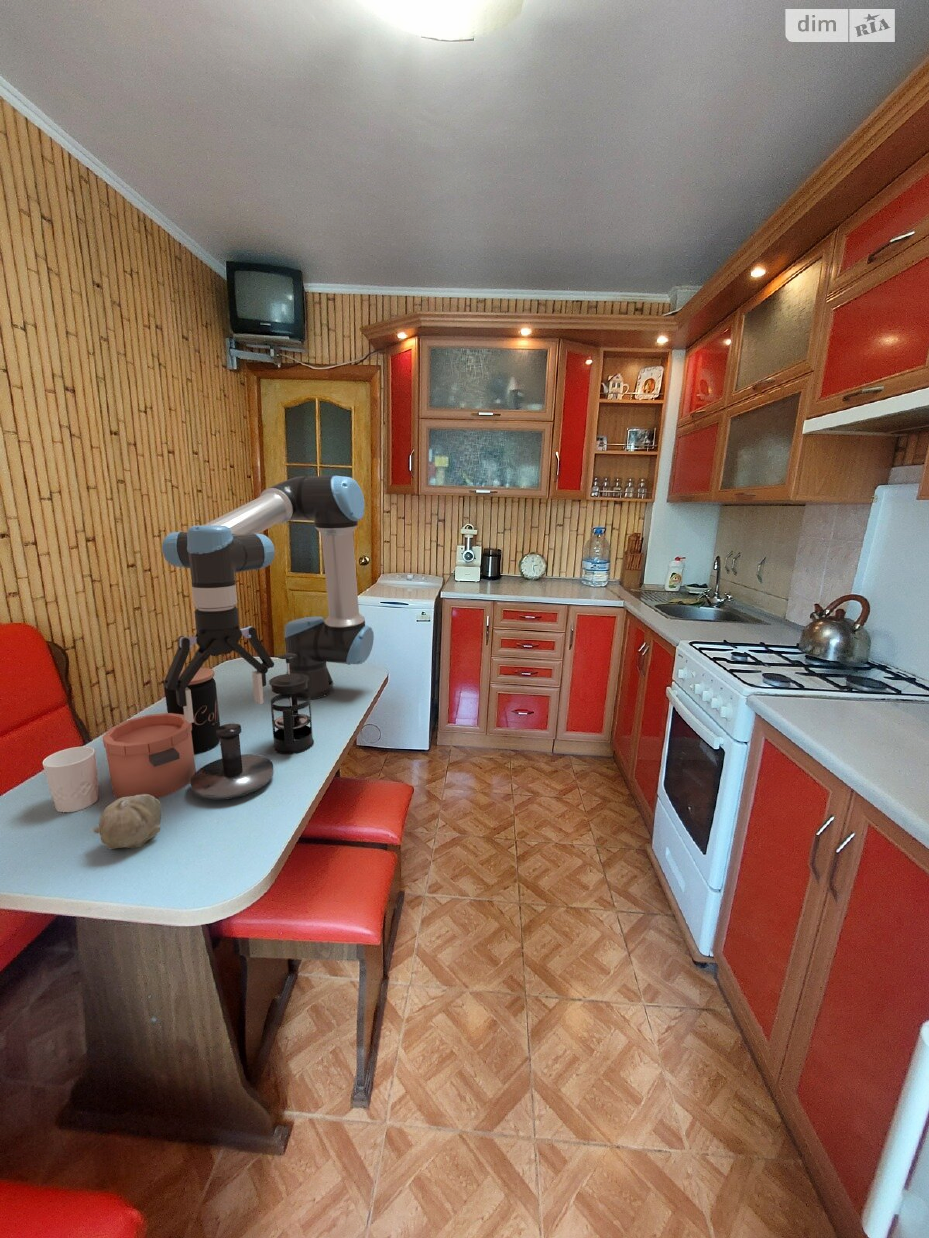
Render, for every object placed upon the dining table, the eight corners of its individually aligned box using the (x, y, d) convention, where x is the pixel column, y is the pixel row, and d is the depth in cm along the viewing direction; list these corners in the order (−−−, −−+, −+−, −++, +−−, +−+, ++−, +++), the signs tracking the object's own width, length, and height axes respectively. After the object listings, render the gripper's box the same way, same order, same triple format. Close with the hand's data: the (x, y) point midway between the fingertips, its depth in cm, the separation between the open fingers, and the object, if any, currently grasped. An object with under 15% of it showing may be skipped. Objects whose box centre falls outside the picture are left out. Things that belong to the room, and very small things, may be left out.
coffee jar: (201, 757, 115) (192, 684, 111) (161, 752, 117) (151, 680, 113) (231, 737, 125) (224, 668, 121) (194, 732, 127) (186, 665, 123)
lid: (254, 758, 115) (250, 706, 112) (287, 784, 105) (283, 728, 102) (180, 784, 104) (173, 728, 101) (209, 817, 94) (202, 754, 91)
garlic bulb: (163, 842, 90) (179, 791, 90) (134, 868, 82) (151, 812, 81) (112, 827, 90) (127, 775, 89) (77, 851, 81) (94, 794, 81)
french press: (277, 736, 126) (270, 649, 121) (316, 733, 128) (310, 647, 122) (268, 759, 115) (260, 664, 109) (311, 756, 116) (305, 662, 111)
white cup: (74, 790, 101) (65, 745, 99) (112, 792, 101) (104, 746, 99) (40, 814, 94) (30, 766, 91) (81, 815, 94) (72, 767, 91)
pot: (101, 775, 107) (92, 723, 104) (177, 751, 118) (171, 703, 115) (128, 818, 93) (118, 759, 90) (212, 786, 104) (206, 733, 101)
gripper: (269, 597, 107) (276, 690, 112) (135, 613, 89) (149, 723, 94) (286, 602, 102) (292, 699, 107) (148, 619, 84) (162, 736, 89)
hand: (225, 711), depth 100 cm, fingers open, 13 cm apart
